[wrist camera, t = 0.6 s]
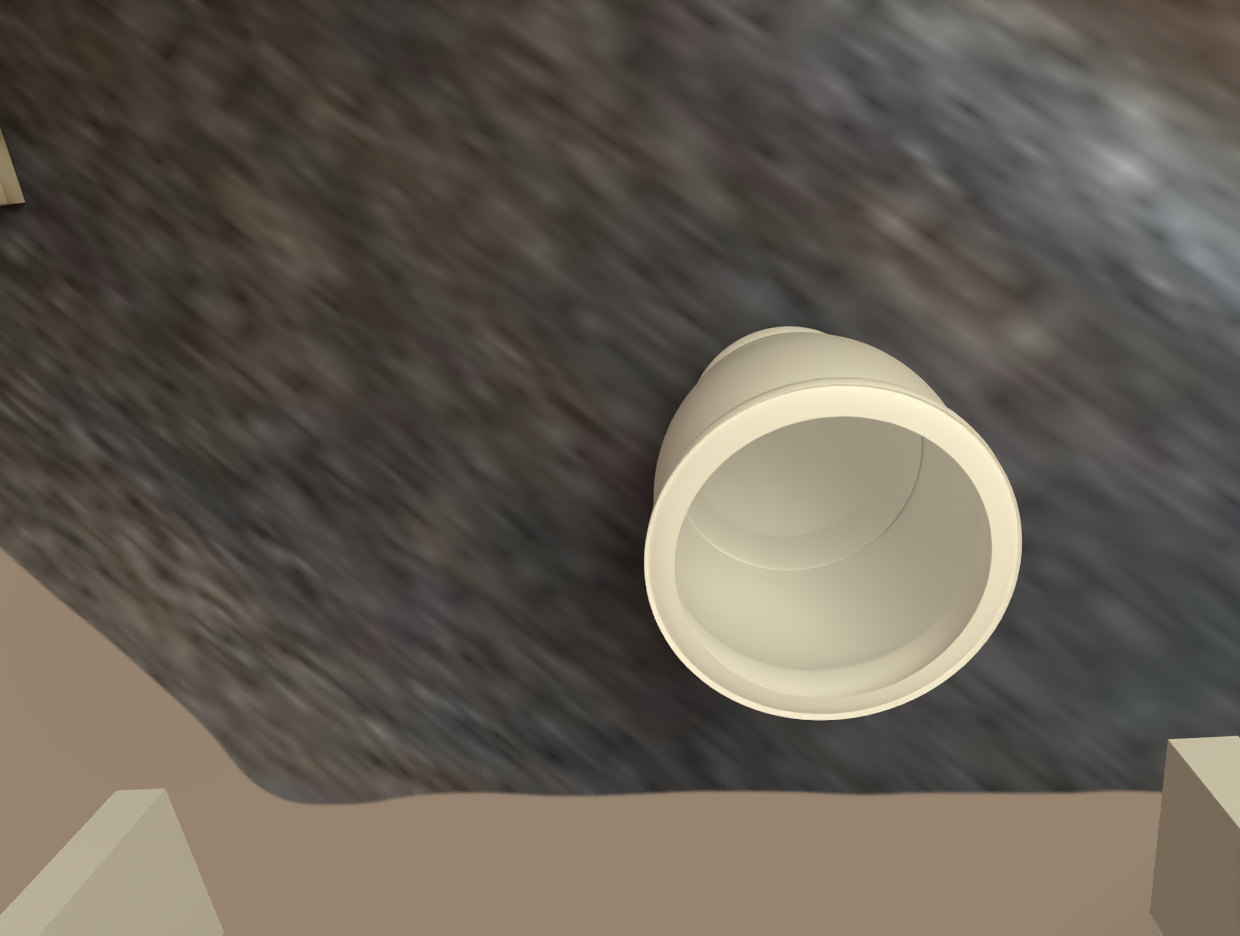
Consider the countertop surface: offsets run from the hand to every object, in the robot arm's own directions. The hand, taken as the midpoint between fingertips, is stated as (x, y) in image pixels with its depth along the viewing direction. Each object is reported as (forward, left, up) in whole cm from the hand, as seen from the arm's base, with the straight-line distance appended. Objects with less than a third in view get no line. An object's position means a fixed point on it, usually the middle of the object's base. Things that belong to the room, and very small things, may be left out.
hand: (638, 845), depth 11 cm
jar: (+2, +4, -28) cm, 28 cm away
